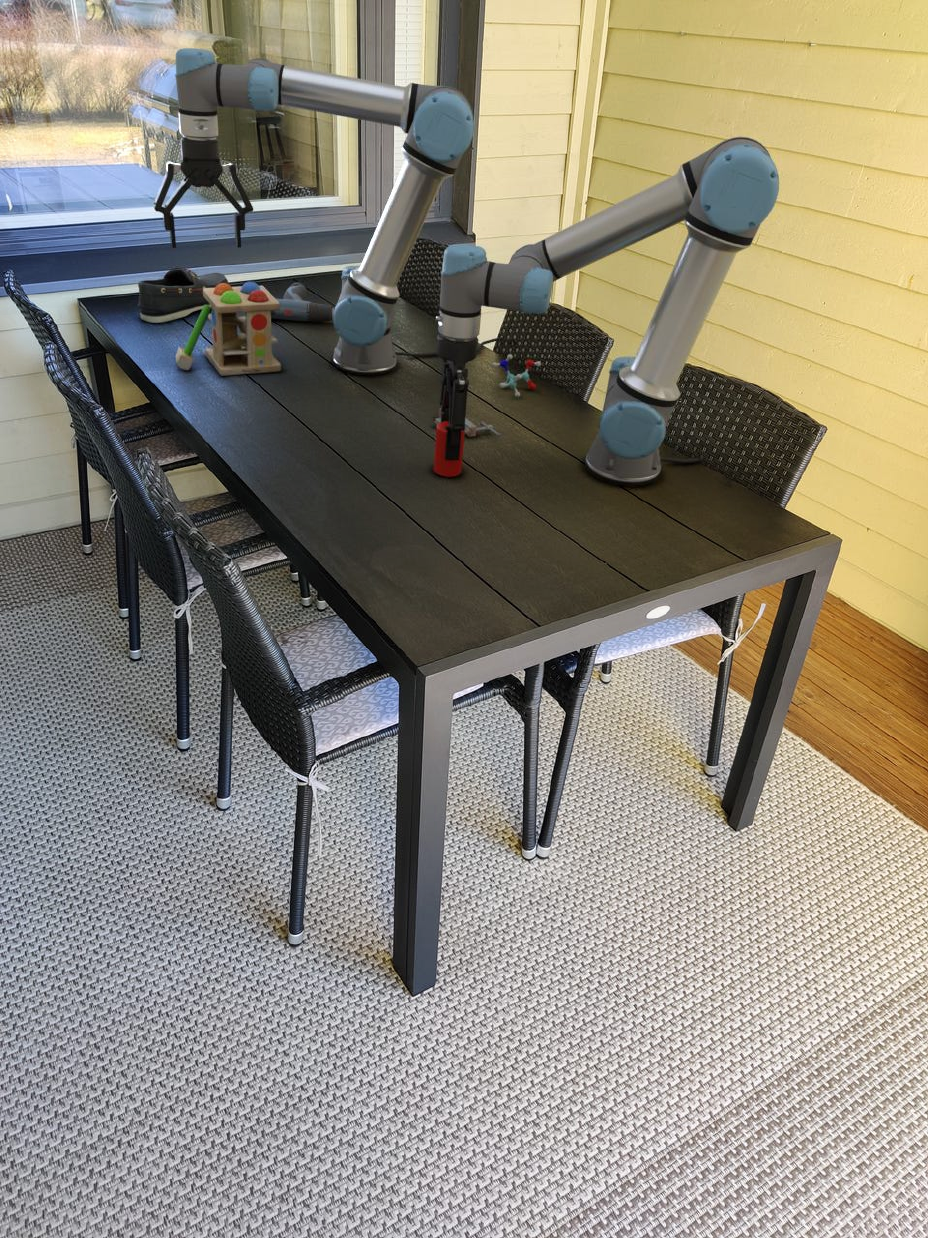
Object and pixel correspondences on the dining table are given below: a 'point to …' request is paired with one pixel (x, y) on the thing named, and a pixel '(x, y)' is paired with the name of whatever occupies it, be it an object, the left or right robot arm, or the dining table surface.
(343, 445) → the dining table surface
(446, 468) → the tin
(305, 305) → the power drill
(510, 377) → the molecular model
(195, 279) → the boat shoe
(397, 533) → the dining table surface
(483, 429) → the clamp
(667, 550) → the dining table surface
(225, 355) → the pounding bench toy
